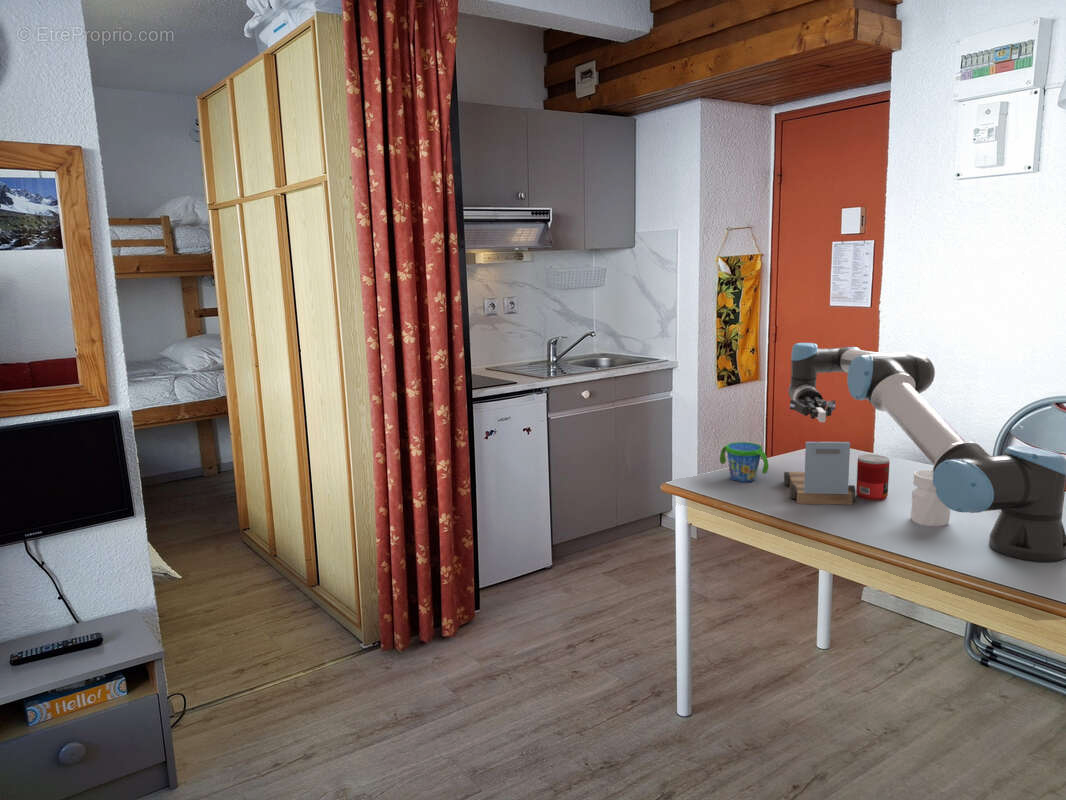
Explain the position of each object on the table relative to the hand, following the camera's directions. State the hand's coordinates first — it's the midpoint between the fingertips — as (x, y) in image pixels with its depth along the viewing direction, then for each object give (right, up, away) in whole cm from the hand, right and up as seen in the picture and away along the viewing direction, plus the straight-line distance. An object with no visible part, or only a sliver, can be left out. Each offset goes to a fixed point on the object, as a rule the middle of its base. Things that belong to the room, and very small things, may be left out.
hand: (822, 417), depth 214 cm
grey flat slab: (-1, -20, -4) cm, 21 cm away
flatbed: (+1, -21, +7) cm, 23 cm away
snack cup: (-16, -19, +22) cm, 33 cm away
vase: (+21, -26, -17) cm, 37 cm away
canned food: (+14, -22, +3) cm, 26 cm away
